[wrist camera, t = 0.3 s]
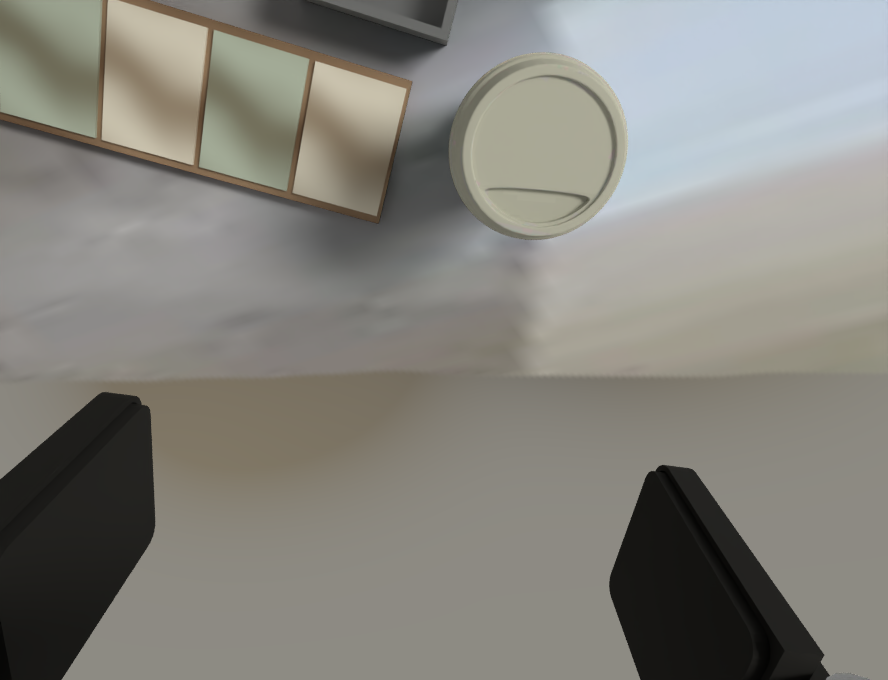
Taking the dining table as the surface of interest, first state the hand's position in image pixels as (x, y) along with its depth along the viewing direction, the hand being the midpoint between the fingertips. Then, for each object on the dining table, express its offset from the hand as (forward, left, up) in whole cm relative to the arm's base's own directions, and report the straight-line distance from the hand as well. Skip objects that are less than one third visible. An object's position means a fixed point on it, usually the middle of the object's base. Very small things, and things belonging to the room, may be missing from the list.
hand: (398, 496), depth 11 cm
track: (-3, -18, -30) cm, 35 cm away
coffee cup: (-6, +4, -30) cm, 31 cm away
